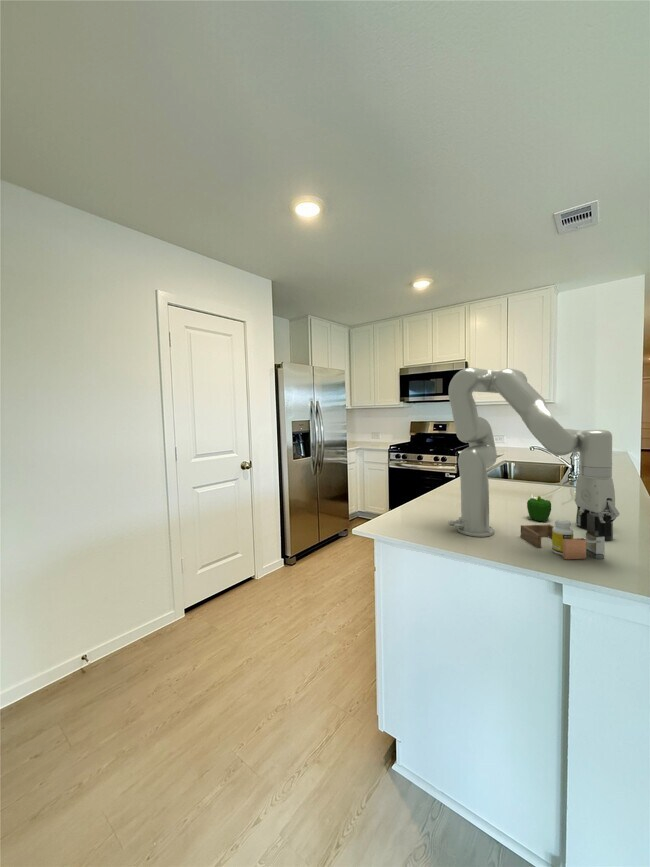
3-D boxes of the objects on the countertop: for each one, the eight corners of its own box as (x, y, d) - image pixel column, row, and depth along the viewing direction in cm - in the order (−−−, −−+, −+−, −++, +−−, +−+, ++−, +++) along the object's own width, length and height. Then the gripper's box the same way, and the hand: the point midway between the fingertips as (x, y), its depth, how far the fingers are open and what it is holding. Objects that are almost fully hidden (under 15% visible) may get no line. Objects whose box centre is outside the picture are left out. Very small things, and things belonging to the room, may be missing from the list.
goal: (538, 547, 111) (537, 535, 111) (520, 536, 121) (520, 525, 121) (569, 546, 111) (569, 534, 111) (549, 535, 121) (549, 524, 120)
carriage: (565, 559, 101) (565, 518, 100) (556, 553, 105) (556, 514, 104) (605, 557, 101) (605, 516, 100) (594, 552, 105) (594, 512, 104)
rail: (595, 559, 101) (595, 555, 101) (556, 537, 118) (556, 534, 118) (604, 558, 101) (604, 554, 101) (563, 537, 118) (563, 534, 118)
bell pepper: (530, 515, 144) (530, 491, 144) (553, 519, 138) (553, 494, 138) (523, 519, 139) (523, 495, 138) (547, 524, 132) (547, 498, 132)
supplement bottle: (563, 557, 103) (563, 524, 103) (547, 550, 109) (547, 519, 108) (577, 554, 105) (577, 522, 104) (561, 548, 110) (561, 517, 109)
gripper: (562, 467, 110) (562, 523, 111) (606, 477, 93) (605, 543, 94) (586, 466, 110) (586, 522, 111) (634, 476, 93) (633, 542, 94)
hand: (595, 531), depth 102 cm, fingers open, 6 cm apart
